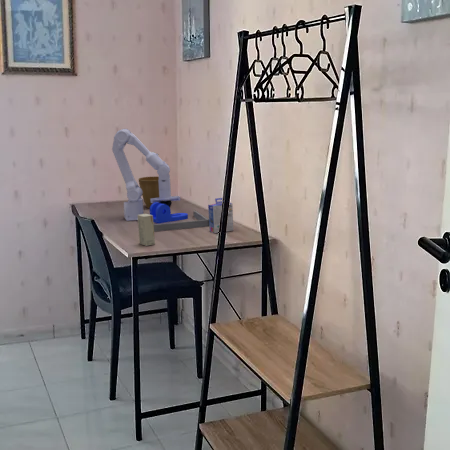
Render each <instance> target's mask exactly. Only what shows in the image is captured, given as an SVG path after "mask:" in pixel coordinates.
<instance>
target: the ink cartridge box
mask: <svg viewBox="0 0 450 450" xmlns="http://www.w3.org/2000/svg"><path fill="white" fill-rule="evenodd" d="M222 199H223V197H218V198H215V199H214V201H215V203H212V204H211V203H210V204H208V205H207V207H208V208H207V209H208V210H207V211H208V219H209V226H208V227H209V232H211V233H212V234H217V233H218V231H219V223H220V217H221V209H222ZM229 203H230V205H229V212H228V223H227V231H226V232H233V231H234V210H233V209H234V207H233V203H232V202H229Z"/></svg>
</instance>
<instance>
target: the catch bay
mask: <svg viewBox="0 0 450 450" xmlns="http://www.w3.org/2000/svg"><path fill="white" fill-rule="evenodd" d="M192 213H193V216H192V217H193V218H194V219H196V220H188V221H187V220H186V221H175V222H166V223H160V224H157V223H154V233H157V232H163V231H164V232H165V231H176V230H186V229H194V228H205V227H206V228H208V227H210V226H209V217H207V216H205V215H203V214H202V213H200V212H198V211H197V210H195V209H194V210H193V212H192Z"/></svg>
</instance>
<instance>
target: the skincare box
mask: <svg viewBox="0 0 450 450" xmlns="http://www.w3.org/2000/svg"><path fill="white" fill-rule="evenodd" d="M137 216H138V220H137V226H138V227H137V228H138V237H139V238H138V239H139V244H140V245H142V246H145V247H147V246H152V245H156V240H155V232H154V225H155V223H154V222H153V215H150V213H144V214H140V215H137Z"/></svg>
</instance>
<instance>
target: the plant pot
mask: <svg viewBox="0 0 450 450" xmlns="http://www.w3.org/2000/svg"><path fill="white" fill-rule="evenodd" d="M158 180H159V176H143V177H139V178H138V180H137V181H138V183H139V184H138V186H139V187H140V188H141V189H142V191H143V194H142V196H141V197H142V199H143V203H144V204H145V207H146V209H149V210H150V206H151V205H152V204H153V203H151V202H150V199H151V198H158V197H159V181H158ZM162 201H163V200H162Z"/></svg>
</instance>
